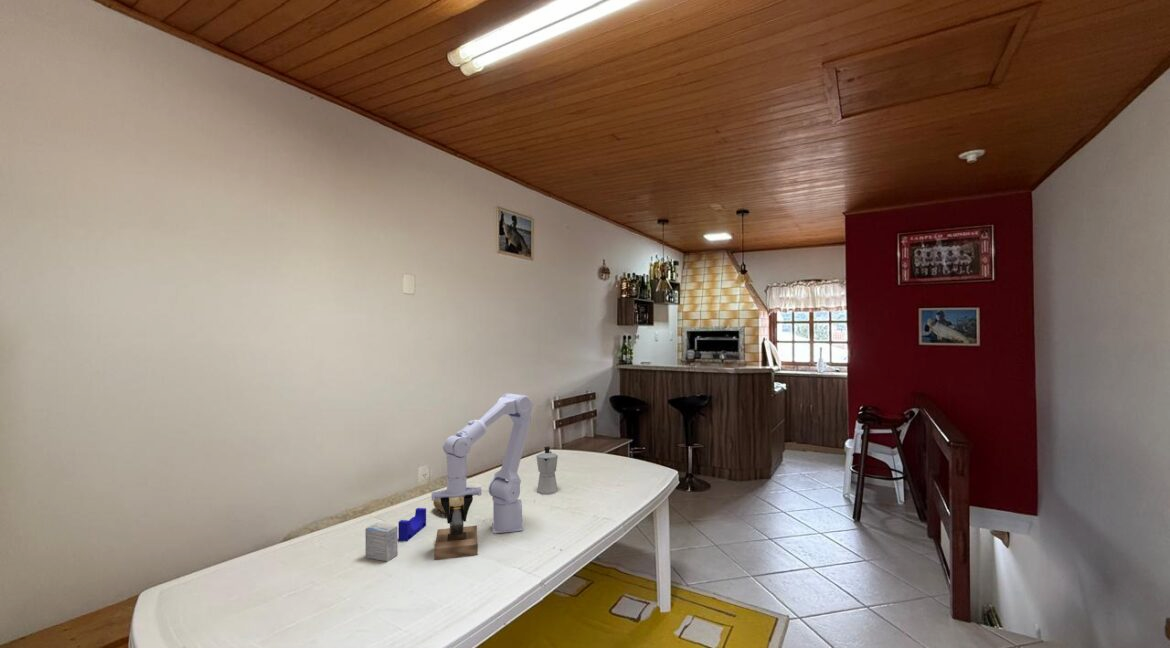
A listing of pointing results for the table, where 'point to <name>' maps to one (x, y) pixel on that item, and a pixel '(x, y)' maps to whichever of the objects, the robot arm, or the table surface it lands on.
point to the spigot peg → (456, 519)
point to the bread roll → (451, 500)
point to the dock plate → (456, 543)
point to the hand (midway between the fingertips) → (456, 521)
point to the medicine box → (381, 541)
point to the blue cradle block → (412, 525)
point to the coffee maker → (547, 472)
